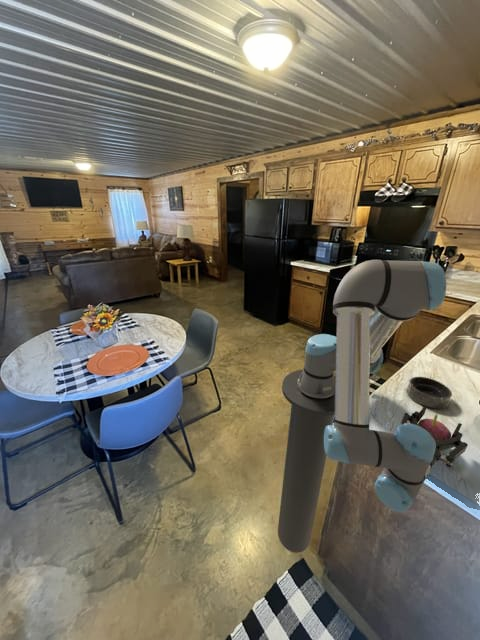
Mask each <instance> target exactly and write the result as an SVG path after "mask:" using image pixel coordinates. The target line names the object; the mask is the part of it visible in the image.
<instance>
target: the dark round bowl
mask: <svg viewBox="0 0 480 640" xmlns="http://www.w3.org/2000/svg"><path fill="white" fill-rule="evenodd" d="M406 393H407V395H408V396H409V397H410V398H411V400H413V401H415V402H416V403H418V404H420V405H422V406H423V407H426V408H432V409H437V410H438V409H439V410H440V409H445V408H447V407H448V405H449V403H450V401H451V399H452V396H453V392H452V390H451V389H450V388H449V387H448V386H446V385H445V384H444V383H442V382H440V381H438V380H436V379H433V378H429V377H426V376H413V377H411V378H410V379H409V382H408V384H407V388H406Z"/></svg>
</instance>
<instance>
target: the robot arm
mask: <svg viewBox="0 0 480 640" xmlns="http://www.w3.org/2000/svg"><path fill="white" fill-rule="evenodd" d="M446 292H447V277H446V273H445V271H444V269H443V267H442V266H441V265H440V264H439V263H436V262H432V261H431V262H430V261H424V260H386V259H383V260H382V259H370V260H365V261H363V262H361V263H360V262H359V264H357V265H355V266H353V267H352V268H351V269H350V270H349V271H348V272H347V273H346V274H345V275H344V276H343V278H342V279H341V281H340V282H339V284H338V286H337V288H336V291H335V292H334V296H333V302H332V314H334V316H336V336H335V335H332V334H327V333H320V334H315V335H313V336H311V337H310V338H309V339H308V340H307V343H306V347H305V355H304V363H303V369H302V370H303V372H302V373H301V375H300V377H299V379H298V382H297V388H298V390H299V391H300V392H301V393H302V394H303V395H304V396H306V397H308V398H311V399H314V400H328V399H330V398H332V397H333V396H334V394H335V415H334V420H333V425H328V426H326V427H325V431H324V450H325V453H326V455H327V456H326V458H327V459H328V460H330V461H334V462H335V461H336V462H339V463H345V464H347V465H350V464H351V465H360V466H368V467H373V468H374V467H375V468H380V469H381V468H382V469H383V470H382V471H381V473H380V475H378V476H377V479H376V481H375V482H374V492H375V494H376V496H377V498H378V499H379V501H380V502H382V504H383V505H384V506H386V507H387V508H388V509H390V510H392V511H394V512H396V513H406V512H407V511H408V510H409V509H410V507H412V505H414V502H415V499H416V497H417V496H418V494H419V492H420V490H421V488H422V486H423V485H424V483H425V481H426V480H427V478H428V476H429V474H430V472H431V470H432V469H433V467H434V466H435V464H436V462H438V461H441V462H443V463H445V466H446V467H447V468H449V469H450V468H452V466H453V464H454V462H455V460H457V459H458V458H459V457H460V456H461V455H463V454H464V453H465V452H466V450H467V448H468V446H469V443H467V442H465V441H462V438H463V436H464V435H463V433H462V432H460V430H461V427H462V425H463V424H462V423H461V422H459V423H457V425H456V427H455V429H454V431H453V433H452V434H451V438H449V439H446V440H442V441H435V440H434V439H433V437H432V436H431V434H430V433H428V432H427V431H426V430H425V429H423V428H421V427H419V426H418V423H419V422H420V420H421V419H422V418H423V417H424V415H425V413H426V411H427V406H423V407H422V408H421V410H419V411H417V410H415V411H414V412H412V413H411V414H409V412H404V413H403V416H402V419H401V422H400V424H399V425H397V427H396V429H395V430H394V432H391V431H384V430H383V431H381V430H373V429H370V404H371V403H370V401H371V399H370V397H371V396H370V393H371V392H370V391H371V389H370V388H371V385H370V384H371V383H370V382H371V377H370V375H373V374H376V373H377V372H379V371H380V370H381V367H382V364H383V361H384V353H383V349H382V348H383V347H384V346H385V344H386V343H388V341H389V339H390V338H392V336H393V335H394V333H396V332H397V330H398V328H400V326H401V325H402V324H403V323H404V322H406V321H411V320H413V319H415V318H416V317H417V316H418V315H419V314H420V312H421V311H422V310H426V311H432V310H434V311H435V310H437V309H439V307H441V305H442V304H443V302H444V300H445V297H446V294H447V293H446ZM334 373H335V383H334V377H333V376H334ZM450 449H452V450H450ZM446 450H450V452H449V453H446V454H444V455H442V454H441V452H443V451H446Z"/></svg>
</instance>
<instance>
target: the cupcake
mask: <svg viewBox="0 0 480 640" xmlns="http://www.w3.org/2000/svg"><path fill="white" fill-rule="evenodd" d="M418 426H419V427H421V428H423V429H425V430H426V431H427V432H428V433H430V434H431V436H432V437H433V439H434V440H435V441H442V440H446V439H449V438H451V437H452V432H451V431H450V429H449V428H448V427H447V426H446V425H445V424H443V423H442V422H440V421H438V413H437V412H436V413H435V414H434V416H433V419H432V418H427V417H425V418H423V419H422V418H421V419H420V421H419V422H418Z"/></svg>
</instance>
